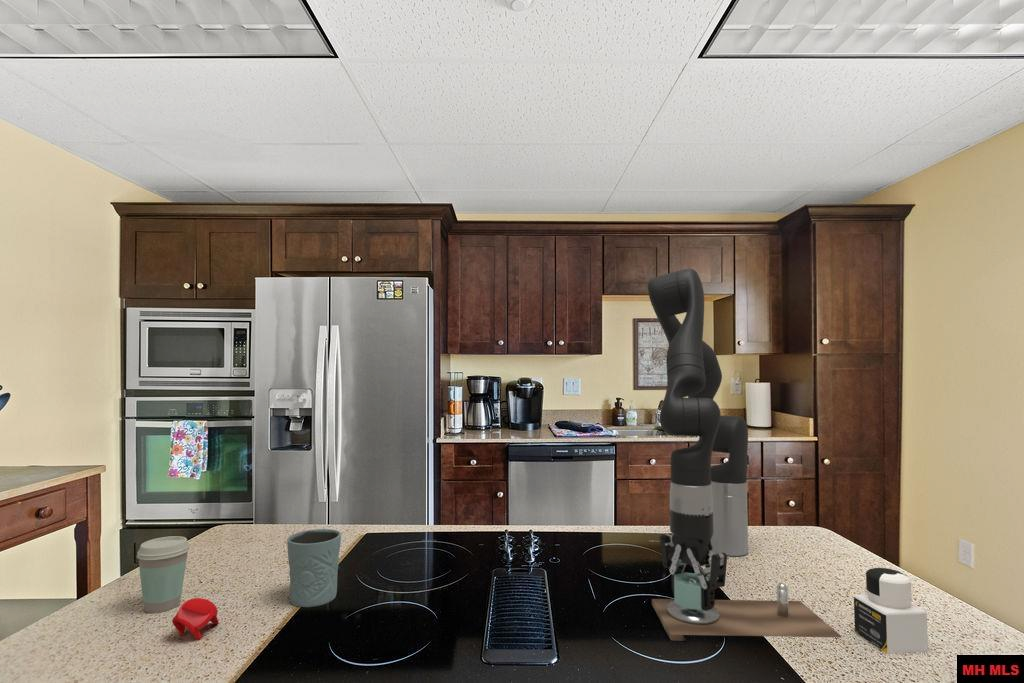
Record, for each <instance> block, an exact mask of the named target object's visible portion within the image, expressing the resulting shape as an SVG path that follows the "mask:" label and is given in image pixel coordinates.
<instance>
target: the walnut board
mask: <svg viewBox="0 0 1024 683" xmlns="http://www.w3.org/2000/svg"><path fill="white" fill-rule="evenodd" d="M672 601H674V599H673V598H671V599H670V598H651V605H652V607H653V609H654V611H655V613H656V615H657V617H658V618H659V621H660V623H661V625H662V627H663V628H664V631H665V632H666V634H667V636H668V638H669V640H670V641H673V642H676V641H678V642H680V641H681V642H682V641H683V642H686V641H687V639H686V638H685V636H731V637H733V636H735V637H736V636H737V637H784V638H785V637H791V638H792V637H794V638H797V637H798V638H800V637H801V638H802V637H803V638H805V637H806V638H843V636H842V635H841V634H839V633H838V631H836V630H835V629H833V627H831V626H830V625H829V624H828V623H827V622H826V621H824V620H823V619H822V618H821V617H820V616H818V614H816V613H815V612H814V611H812V609H810V608H809V607H808V606H807V605H806V604H805V603H803V602H802V601H801V600H788V614H789V616H788V617H782V616H779V615H778V614H777V600H761V599H759V600H756V599H754V600H751V599H715V605H714V607H715V608H716V609H717V610H718V611H719V620H718V621H717V622H715V623H713V624H709V625H693V624H688V623H684V622H681V621H678V620H676V619H674V618H672V617H671V616H670V615H669V614H668V613H667V605H668V604H669V603H670V602H672Z"/></svg>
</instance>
